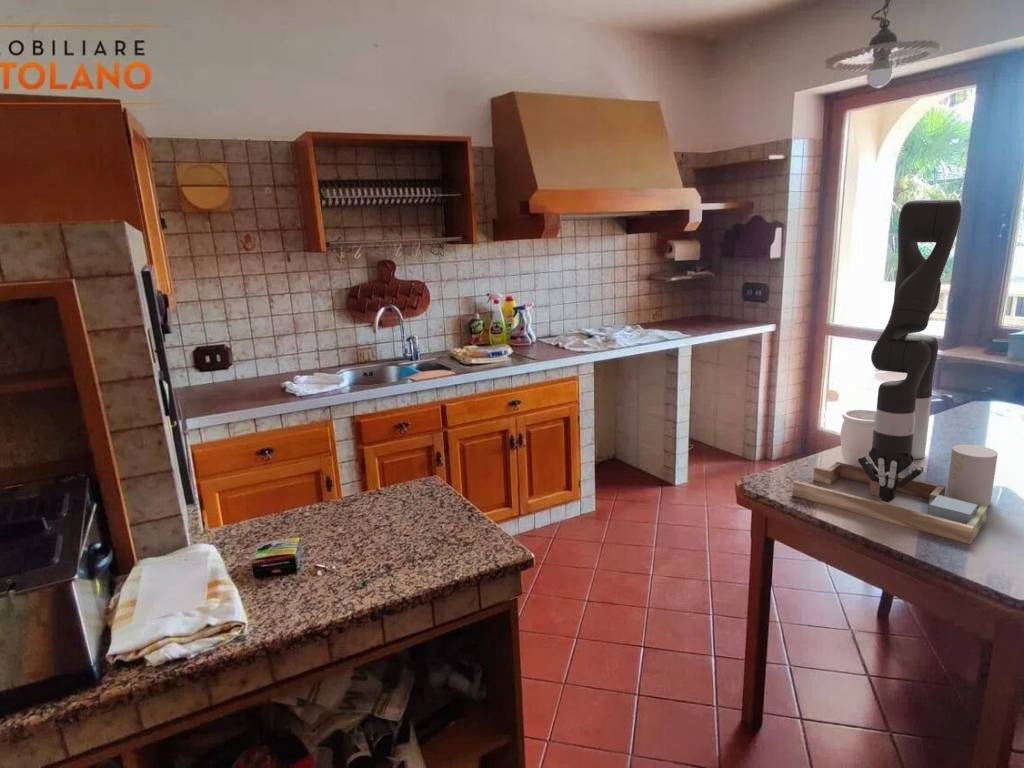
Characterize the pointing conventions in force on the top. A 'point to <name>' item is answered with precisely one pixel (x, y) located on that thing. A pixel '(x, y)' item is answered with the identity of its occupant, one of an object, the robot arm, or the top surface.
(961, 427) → the top surface
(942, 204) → the robot arm
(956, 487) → the white cylinder
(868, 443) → the jar
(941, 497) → the block
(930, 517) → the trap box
